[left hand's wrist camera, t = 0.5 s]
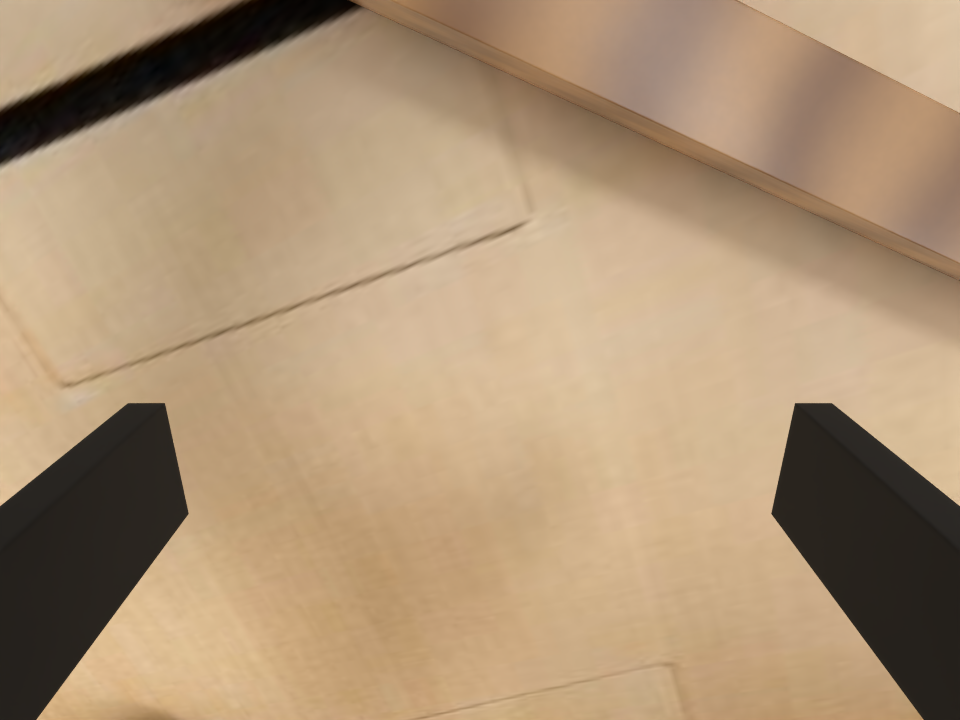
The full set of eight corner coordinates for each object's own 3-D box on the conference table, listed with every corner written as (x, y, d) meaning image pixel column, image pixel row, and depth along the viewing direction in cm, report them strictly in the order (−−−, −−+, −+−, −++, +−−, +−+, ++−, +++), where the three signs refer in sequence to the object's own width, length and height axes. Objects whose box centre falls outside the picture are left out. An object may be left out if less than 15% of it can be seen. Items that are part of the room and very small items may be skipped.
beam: (41, -141, 29) (-108, -231, 22) (57, -277, 27) (-99, -425, 20) (1030, 313, 37) (1165, 359, 30) (1093, 232, 35) (1253, 261, 28)
